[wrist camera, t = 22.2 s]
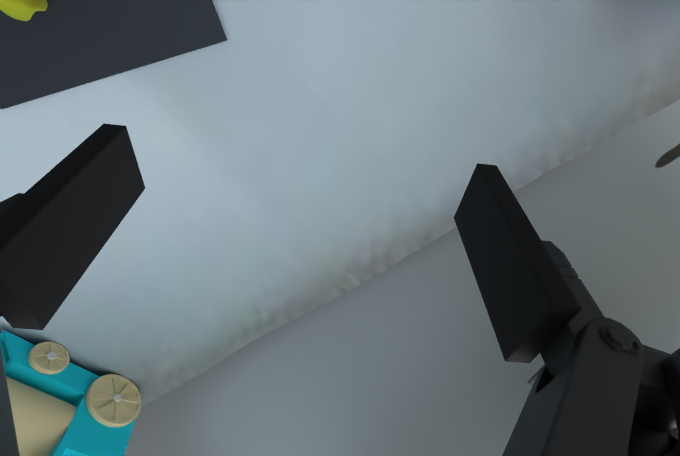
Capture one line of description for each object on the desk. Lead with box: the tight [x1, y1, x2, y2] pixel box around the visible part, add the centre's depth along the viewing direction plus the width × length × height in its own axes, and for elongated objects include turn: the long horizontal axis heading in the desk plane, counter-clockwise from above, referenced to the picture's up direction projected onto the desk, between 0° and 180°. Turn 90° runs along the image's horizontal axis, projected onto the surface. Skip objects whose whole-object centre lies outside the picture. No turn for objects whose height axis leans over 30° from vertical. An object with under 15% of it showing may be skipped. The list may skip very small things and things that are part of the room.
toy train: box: [0, 330, 142, 456], centre depth 35 cm, size 8×17×15 cm, turn 40°
